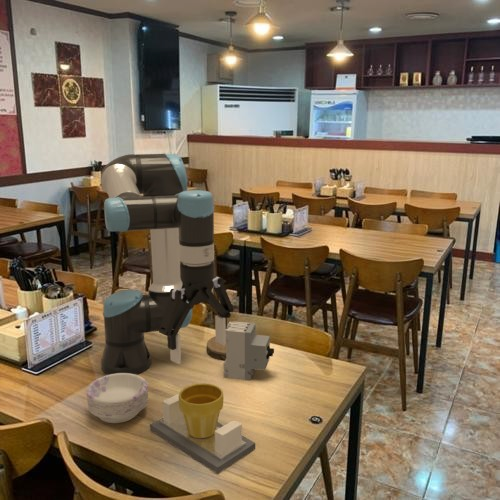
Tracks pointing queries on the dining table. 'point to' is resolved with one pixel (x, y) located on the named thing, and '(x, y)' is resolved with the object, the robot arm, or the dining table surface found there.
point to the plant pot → (201, 408)
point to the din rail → (202, 443)
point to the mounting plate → (198, 452)
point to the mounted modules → (224, 436)
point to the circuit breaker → (245, 351)
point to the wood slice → (216, 349)
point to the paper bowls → (117, 397)
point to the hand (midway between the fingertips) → (199, 352)
